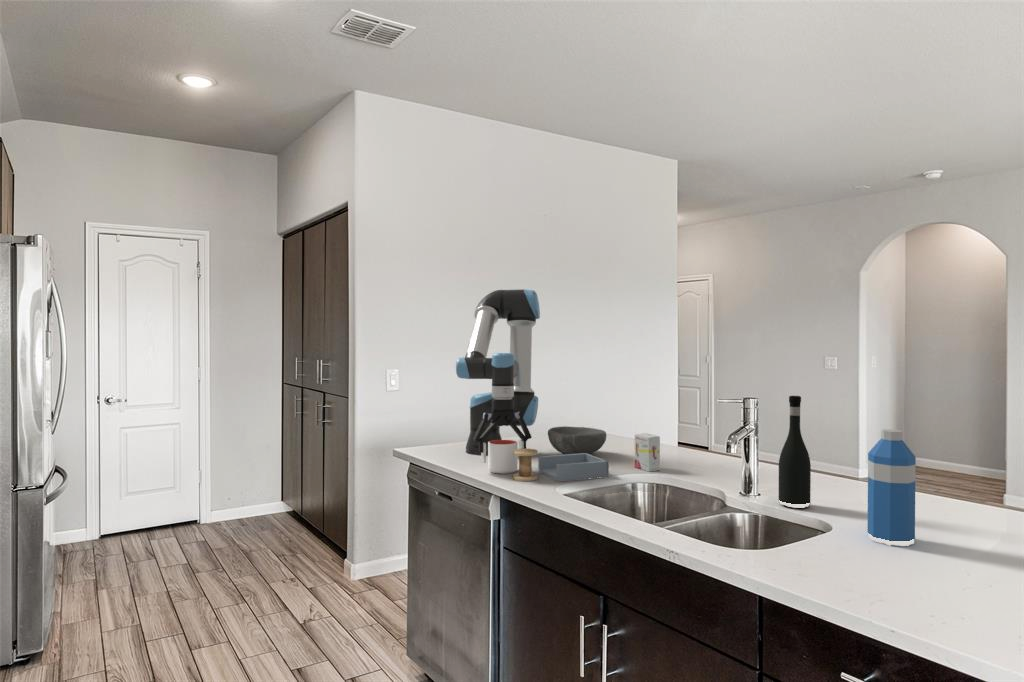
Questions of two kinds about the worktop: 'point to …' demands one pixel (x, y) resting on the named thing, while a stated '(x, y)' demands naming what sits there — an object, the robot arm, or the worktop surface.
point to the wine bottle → (794, 461)
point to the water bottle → (891, 488)
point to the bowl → (576, 439)
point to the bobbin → (525, 465)
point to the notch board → (573, 467)
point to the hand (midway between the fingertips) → (502, 461)
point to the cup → (502, 456)
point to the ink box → (647, 452)
